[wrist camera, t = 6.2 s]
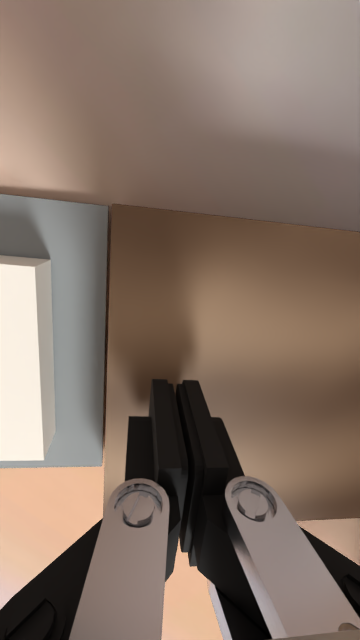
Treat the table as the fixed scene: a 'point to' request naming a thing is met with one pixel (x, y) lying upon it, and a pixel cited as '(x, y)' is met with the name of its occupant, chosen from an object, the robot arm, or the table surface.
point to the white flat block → (26, 359)
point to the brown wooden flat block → (243, 344)
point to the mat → (68, 315)
